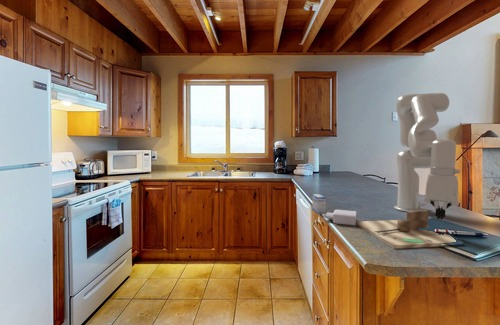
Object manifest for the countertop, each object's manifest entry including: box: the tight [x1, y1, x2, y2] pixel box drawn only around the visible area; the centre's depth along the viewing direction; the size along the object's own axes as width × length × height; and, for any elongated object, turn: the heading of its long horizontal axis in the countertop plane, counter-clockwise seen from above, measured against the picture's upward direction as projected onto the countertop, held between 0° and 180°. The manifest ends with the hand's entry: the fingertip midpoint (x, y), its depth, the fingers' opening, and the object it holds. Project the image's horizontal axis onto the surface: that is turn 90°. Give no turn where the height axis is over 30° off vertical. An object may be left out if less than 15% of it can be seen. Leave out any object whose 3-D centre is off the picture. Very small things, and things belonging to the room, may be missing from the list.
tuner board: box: [356, 219, 456, 250], centre depth 101 cm, size 26×26×1 cm
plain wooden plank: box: [377, 209, 430, 233], centre depth 101 cm, size 24×4×7 cm, turn 105°
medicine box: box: [311, 193, 327, 215], centre depth 134 cm, size 8×4×9 cm, turn 5°
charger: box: [321, 209, 357, 226], centre depth 118 cm, size 5×9×15 cm
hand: (440, 218), depth 100 cm, fingers closed
